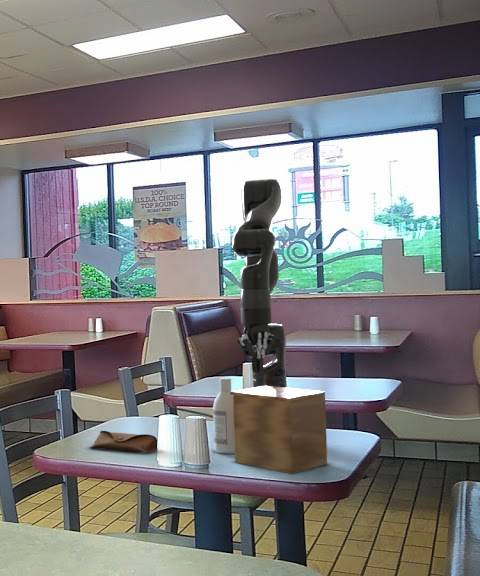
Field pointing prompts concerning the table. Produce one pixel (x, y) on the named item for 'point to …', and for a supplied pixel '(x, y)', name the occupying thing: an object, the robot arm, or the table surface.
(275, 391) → the chest lid
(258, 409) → the chest
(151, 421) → the table surface
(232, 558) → the table surface
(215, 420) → the bath foam
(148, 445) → the sunglasses case
